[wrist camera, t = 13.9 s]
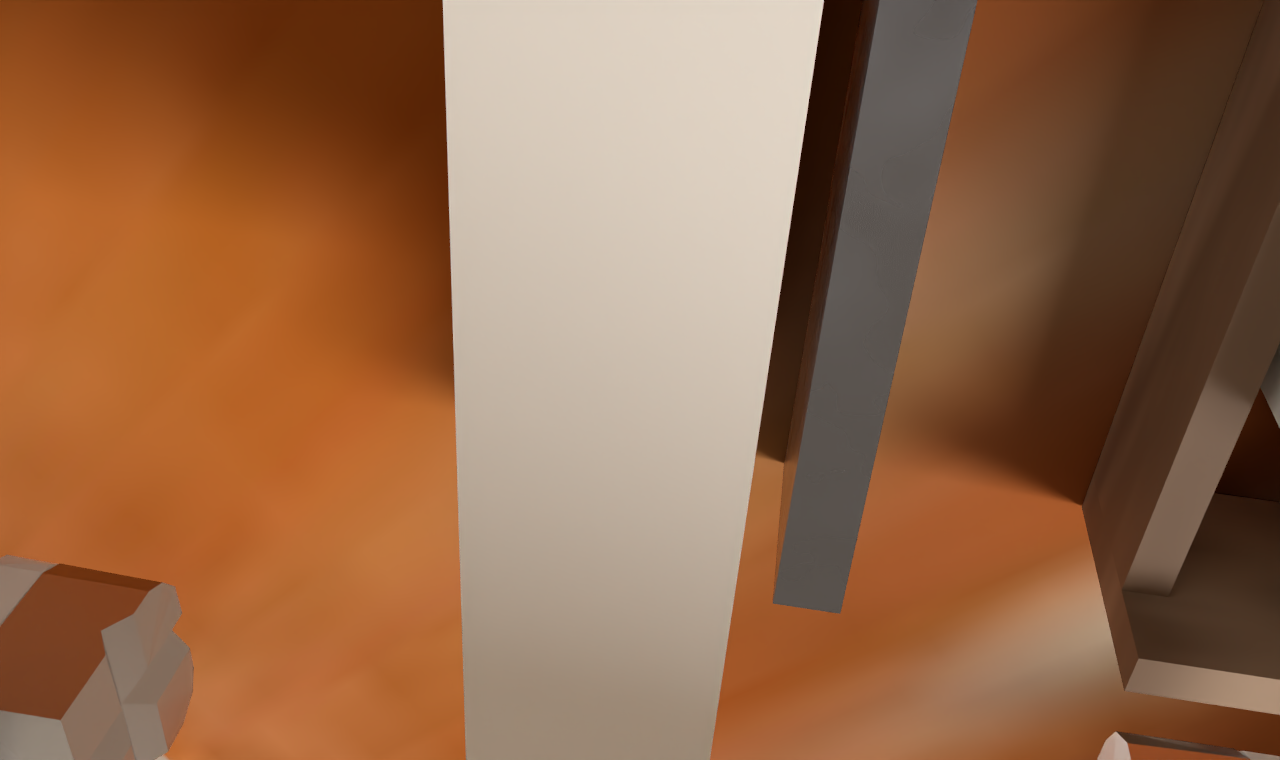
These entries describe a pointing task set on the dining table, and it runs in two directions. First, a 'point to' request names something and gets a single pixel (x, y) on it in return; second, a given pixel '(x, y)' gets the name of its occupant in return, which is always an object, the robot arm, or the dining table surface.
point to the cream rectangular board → (612, 352)
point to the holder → (865, 282)
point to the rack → (1202, 431)
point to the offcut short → (1273, 386)
